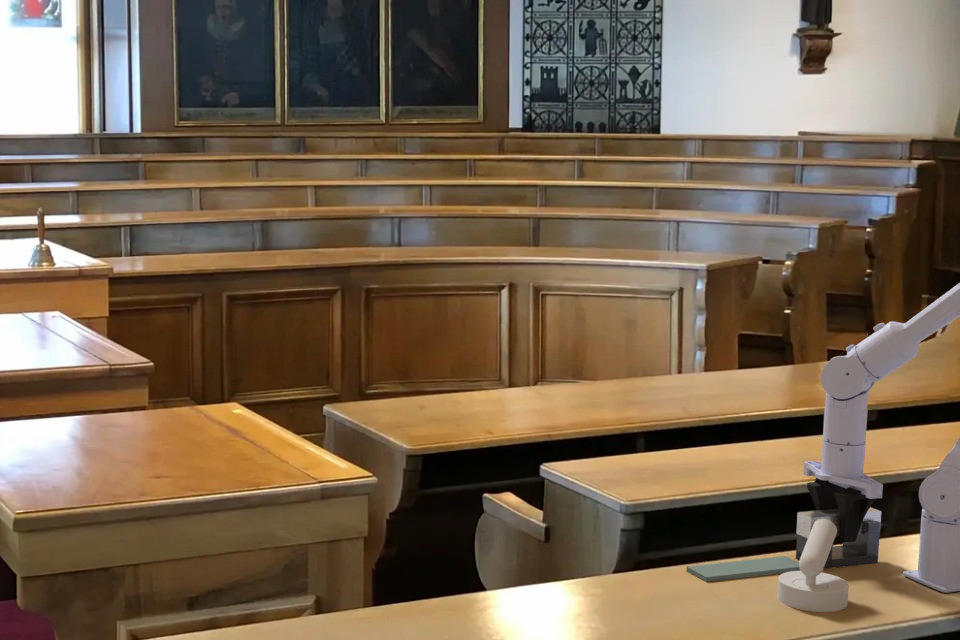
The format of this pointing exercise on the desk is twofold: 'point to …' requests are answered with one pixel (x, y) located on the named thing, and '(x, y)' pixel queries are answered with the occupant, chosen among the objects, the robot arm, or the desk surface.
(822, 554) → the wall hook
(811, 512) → the silver rail
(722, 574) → the rubber mat
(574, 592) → the desk surface
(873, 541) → the dark grey slotted rack
